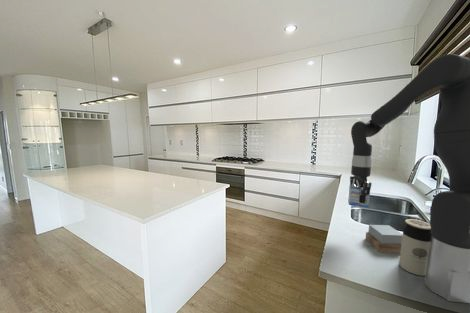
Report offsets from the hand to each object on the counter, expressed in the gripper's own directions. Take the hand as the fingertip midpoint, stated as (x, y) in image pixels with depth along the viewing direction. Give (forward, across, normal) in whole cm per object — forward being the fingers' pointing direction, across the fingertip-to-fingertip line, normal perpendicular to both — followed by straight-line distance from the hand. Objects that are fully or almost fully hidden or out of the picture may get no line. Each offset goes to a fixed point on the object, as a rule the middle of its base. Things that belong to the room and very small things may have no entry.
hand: (358, 200), depth 91 cm
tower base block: (+20, -5, -10) cm, 22 cm away
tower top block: (+16, -5, -10) cm, 19 cm away
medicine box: (+2, 0, 0) cm, 2 cm away
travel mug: (+20, -20, -11) cm, 30 cm away
